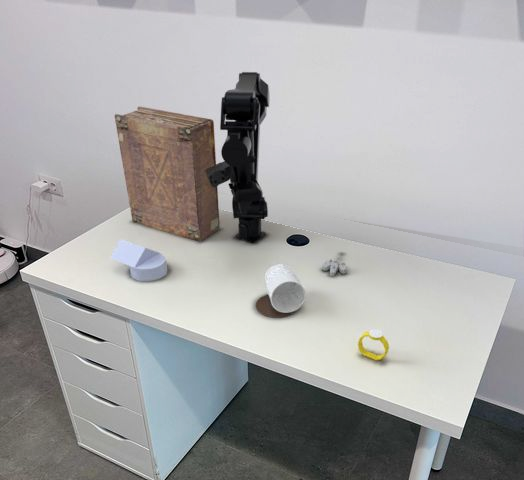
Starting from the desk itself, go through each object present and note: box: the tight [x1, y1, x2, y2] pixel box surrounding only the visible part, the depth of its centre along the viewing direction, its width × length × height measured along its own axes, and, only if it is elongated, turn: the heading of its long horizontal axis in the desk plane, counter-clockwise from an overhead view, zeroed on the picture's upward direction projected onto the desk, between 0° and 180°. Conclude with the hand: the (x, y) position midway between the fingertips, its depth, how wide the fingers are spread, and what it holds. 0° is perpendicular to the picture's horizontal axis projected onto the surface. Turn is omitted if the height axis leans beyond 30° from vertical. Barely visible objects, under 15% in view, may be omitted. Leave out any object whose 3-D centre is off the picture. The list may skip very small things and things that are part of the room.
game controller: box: [322, 252, 347, 277], centre depth 136 cm, size 6×12×3 cm, turn 179°
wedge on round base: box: [109, 238, 168, 282], centre depth 134 cm, size 9×7×13 cm
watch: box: [357, 328, 390, 361], centre depth 106 cm, size 6×3×6 cm, turn 58°
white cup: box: [264, 263, 307, 313], centre depth 121 cm, size 8×8×10 cm
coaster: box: [255, 294, 297, 319], centre depth 122 cm, size 10×10×1 cm
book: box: [114, 106, 221, 242], centre depth 146 cm, size 25×9×30 cm, turn 58°
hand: (243, 215), depth 133 cm, fingers closed
